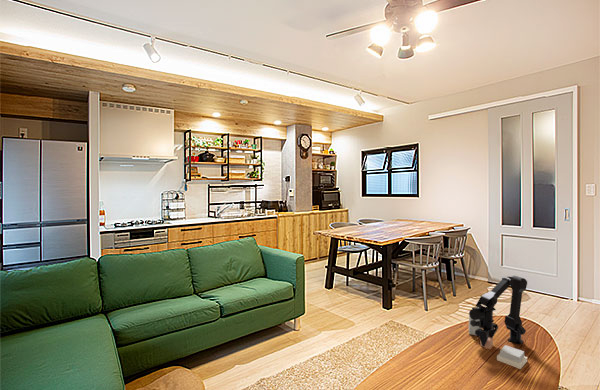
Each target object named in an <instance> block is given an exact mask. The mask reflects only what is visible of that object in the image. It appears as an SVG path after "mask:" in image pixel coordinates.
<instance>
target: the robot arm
mask: <svg viewBox="0 0 600 390" xmlns="http://www.w3.org/2000/svg"><path fill="white" fill-rule="evenodd" d="M527 286H528V280H527V279H526V278H524V277H520V276H518V275H512V276H503V277H502V278H501V280H500V281H499V282H498V283H497V284H496V285H495V286H494V287H493V288H492V289H491V290H490V291H489V292H485V293H483V294H482V295H481V296H480V297H479V300H478V301H477V302H476V304H475V307H474V306H473V307H472V309H470V310H469V311H470V312H469V311H468V316H469V315H470V317H471V319H473V320H471V321H470V324H471V325H472V326H473V327H474V326H479V329H477V330H476V331H475V335H474V336H476V337H479V340H481V343H482V346H485V344H486V342H487V340H488V338H489V337H490V338H494V336H495V334H496V333H497V331H498V329H499V325H498V324H497V323H495V322H494V321H495V320H494V319H493V318H494V317H493V316H494V315H493V314H494V311H496V310H497V309H496V308H495V306H496V304H497V303H498V298H499V297H500V296H501V295H503V293H505V291H506V290H507V289H508V288H509V287H510V288H511V290H512V292H511V300H510V307H509V314H508V315H505V316H504V321H503V322H504V325H505V327H506V328H505V329H507V330H509V338H508V339H507V341H508V342H511V343H515V344H516V345H517V344H518V345H521V344H523V342H524V339H522V336H524V335H526V328H524V326H523V320H522V319H521V317H520V316H521V315H520V313H521V308H522V307H521V306H522V298H523V297H522V296H523V293H524V291H526V290H527ZM480 328H482V329H480ZM482 346H481V347H482Z"/></svg>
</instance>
